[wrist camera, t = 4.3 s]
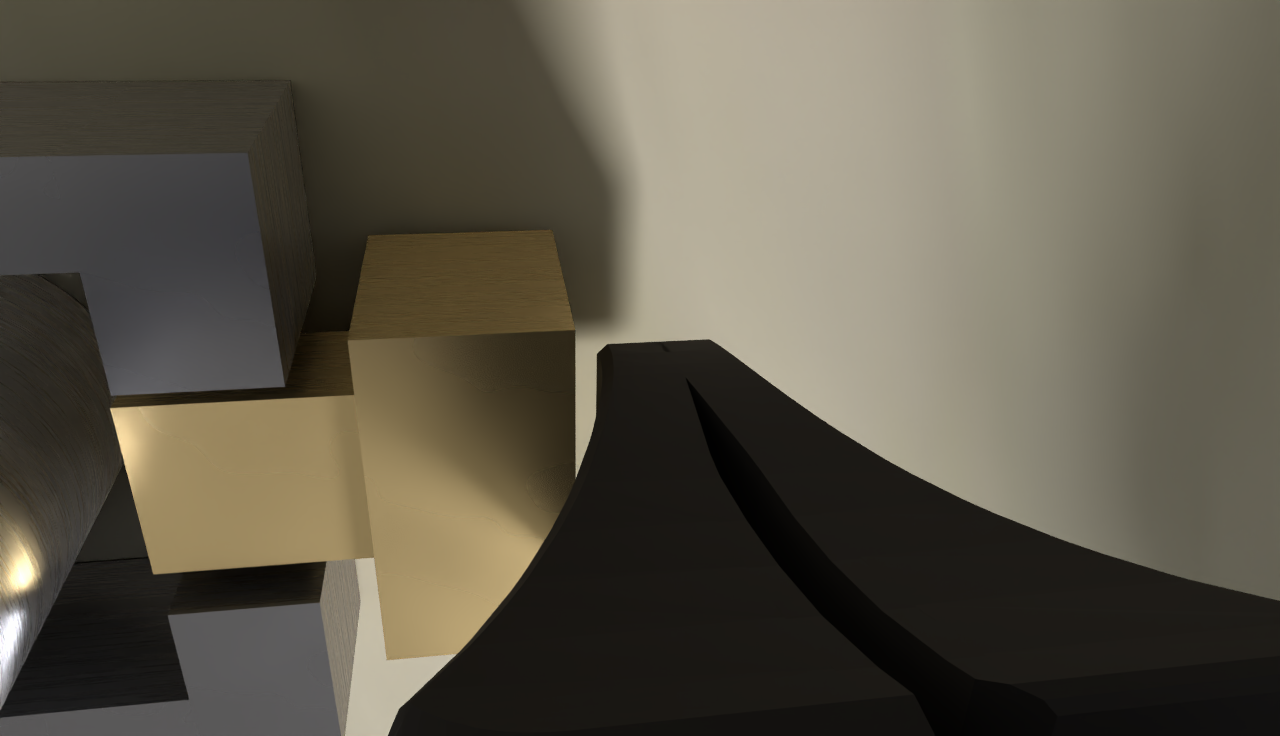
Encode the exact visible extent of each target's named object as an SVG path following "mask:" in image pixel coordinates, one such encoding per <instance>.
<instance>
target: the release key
mask: <svg viewBox="0 0 1280 736" xmlns="http://www.w3.org/2000/svg"><path fill="white" fill-rule="evenodd" d="M110 409H111V413H112V417H113V421H114V425H115V429H116V433H117V436H118V440H119V444H120V448H121V452H122V456H123V460H124V463H125V467H126V471H127V475H128V479H129V483H130V487H131V490H132V494H133V498H134V502H135V506H136V510H137V513H138V517H139V521H140V525H141V529H142V533H143V537H144V540H145V544H146V548H147V552H148V556H149V560H150V564H151V567H152V571H153V574H166V573H179V572H192V571H205V570H217V569H230V568H243V567H256V566H269V565H282V564H295V563H308V562H321V561H334V560H347V559H360V558H373V557H374V559H375V567H376V576H377V584H378V592H379V600H380V608H381V616H382V624H383V632H384V641H385V649H386V657H387V660H394V659H405V658H416V657H427V656H438V655H448V654H458V653H459V652H460V651H461V649H462V648H463V647H464V646H465V645H466V644H467V643H468V642H469V641H470V640H471V639H472V638H473V636H474V635H475V634H476V633H477V631H478V630H479V629H480V628H481V627H482V625H483V624H484V623H485V622H486V621H487V619H488V618H489V617H490V616H491V615H492V613H493V612H494V611H495V610H496V608H497V607H498V606H499V605H500V604H501V602H502V601H503V600H504V599H505V598H506V596H507V595H508V594H509V593H510V591H511V590H512V589H513V587H514V586H515V585H516V583H517V582H518V581H519V579H520V578H521V576H522V575H523V573H524V572H525V570H526V569H527V568H528V566H529V564H530V563H531V561H532V560H533V558H534V556H535V555H536V553H537V552H538V550H539V548H540V547H541V545H542V544H543V542H544V540H545V539H546V537H547V536H548V534H549V532H550V530H551V529H552V527H553V525H554V523H555V521H556V519H557V517H558V515H559V514H560V512H561V510H562V508H563V506H564V504H565V502H566V500H567V498H568V495H569V493H570V491H571V489H572V486H573V484H574V482H575V327H574V322H573V318H572V314H571V309H570V305H569V301H568V296H567V292H566V288H565V283H564V279H563V275H562V270H561V266H560V261H559V257H558V253H557V248H556V244H555V240H554V235H553V231H552V230H530V231H497V232H463V233H430V234H396V235H368V240H367V245H366V250H365V255H364V260H363V265H362V270H361V275H360V280H359V285H358V290H357V295H356V300H355V305H354V310H353V315H352V320H351V326H350V331H336V332H313V333H300V337H299V340H298V344H297V347H296V351H295V354H294V358H293V361H292V365H291V368H290V371H289V375H288V378H287V382H286V385H285V387H270V388H251V389H232V390H212V391H193V392H173V393H154V394H134V395H117V397H116V399H115V400H114V402H113V404H112V406H111V407H110Z"/></svg>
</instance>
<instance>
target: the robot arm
mask: <svg viewBox="0 0 1280 736" xmlns="http://www.w3.org/2000/svg"><path fill="white" fill-rule="evenodd" d="M388 736H1280V601H1277V600H1273V599H1269V598H1264V597H1260V596H1256V595H1252V594H1247V593H1243V592H1239V591H1235V590H1230V589H1226V588H1222V587H1218V586H1213V585H1209V584H1205V583H1201V582H1196V581H1192V580H1188V579H1185V578H1181V577H1177V576H1174V575H1170V574H1167V573H1164V572H1160V571H1157V570H1154V569H1151V568H1147V567H1144V566H1141V565H1137V564H1134V563H1131V562H1127V561H1124V560H1121V559H1118V558H1114V557H1111V556H1108V555H1104V554H1102V553H1099V552H1096V551H1093V550H1090V549H1087V548H1084V547H1081V546H1078V545H1075V544H1072V543H1069V542H1067V541H1064V540H1061V539H1058V538H1055V537H1053V536H1050V535H1048V534H1045V533H1043V532H1040V531H1038V530H1035V529H1033V528H1030V527H1027V526H1025V525H1022V524H1020V523H1017V522H1015V521H1012V520H1010V519H1007V518H1005V517H1002V516H1000V515H997V514H995V513H992V512H990V511H988V510H986V509H983V508H981V507H979V506H977V505H974V504H972V503H970V502H967V501H965V500H963V499H961V498H959V497H957V496H955V495H953V494H951V493H949V492H947V491H945V490H943V489H941V488H939V487H937V486H935V485H933V484H931V483H929V482H927V481H925V480H923V479H921V478H919V477H917V476H915V475H913V474H911V473H909V472H907V471H905V470H903V469H902V468H900V467H898V466H896V465H894V464H893V463H891V462H889V461H887V460H885V459H884V458H882V457H880V456H879V455H877V454H875V453H874V452H872V451H871V450H869V449H867V448H866V447H864V446H862V445H861V444H859V443H857V442H856V441H854V440H853V439H851V438H849V437H848V436H846V435H844V434H843V433H841V432H840V431H838V430H837V429H835V428H834V427H832V426H831V425H829V424H828V423H826V422H825V421H823V420H821V419H820V418H819V417H817V416H816V415H814V414H813V413H811V412H810V411H808V410H807V409H805V408H804V407H803V406H801V405H800V404H798V403H797V402H796V401H794V400H793V399H791V398H790V397H789V396H787V395H786V394H784V393H783V392H782V391H780V390H779V389H778V388H776V387H775V386H773V385H772V384H771V383H769V382H768V381H767V380H765V379H764V378H763V377H761V376H760V375H759V374H757V373H756V372H755V371H753V370H752V369H751V368H749V367H748V366H747V365H745V364H744V363H743V362H741V361H740V360H739V359H737V358H736V357H735V356H733V355H732V354H730V353H729V352H728V351H726V350H725V349H723V348H722V347H721V346H719V345H718V344H716V343H714V342H713V341H711V340H709V339H708V340H687V341H666V342H644V343H623V344H607V345H606V346H605V347H604V348H603V349H602V350H601V351H600V352H599V353H598V354H597V394H596V419H595V423H594V428H593V432H592V435H591V439H590V442H589V445H588V447H587V450H586V453H585V455H584V458H583V461H582V464H581V466H580V469H579V472H578V474H577V477H576V480H575V482H574V484H573V486H572V489H571V491H570V493H569V495H568V498H567V500H566V502H565V504H564V506H563V508H562V510H561V512H560V514H559V515H558V517H557V519H556V521H555V523H554V525H553V527H552V529H551V530H550V532H549V534H548V536H547V537H546V539H545V540H544V542H543V544H542V545H541V547H540V548H539V550H538V552H537V553H536V555H535V556H534V558H533V560H532V561H531V563H530V564H529V566H528V568H527V569H526V570H525V572H524V573H523V575H522V576H521V578H520V579H519V581H518V582H517V583H516V585H515V586H514V587H513V589H512V590H511V591H510V593H509V594H508V595H507V596H506V598H505V599H504V600H503V601H502V602H501V604H500V605H499V606H498V607H497V608H496V610H495V611H494V612H493V613H492V615H491V616H490V617H489V618H488V619H487V621H486V622H485V623H484V624H483V625H482V627H481V628H480V629H479V630H478V631H477V633H476V634H475V635H474V636H473V638H472V639H471V640H470V641H469V642H468V643H467V644H466V645H465V646H464V647H463V648H462V649H461V651H460V652H459V653H458V654H457V655H456V656H455V657H454V658H452V659H451V660H450V661H449V662H448V663H447V664H446V665H445V666H444V667H443V668H442V669H441V670H440V671H439V672H438V673H437V674H436V675H435V676H434V677H433V678H432V679H431V680H429V681H428V682H427V683H426V684H425V685H424V686H423V687H422V688H421V689H420V690H419V691H418V692H417V693H416V694H415V695H414V696H413V697H412V698H411V699H410V700H409V701H407V702H406V703H405V704H404V705H403V706H402V707H401V708H400V709H399V711H398V713H397V715H396V718H395V720H394V722H393V725H392V727H391V729H390V732H389V734H388Z"/></svg>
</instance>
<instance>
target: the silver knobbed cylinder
mask: <svg viewBox="0 0 1280 736" xmlns="http://www.w3.org/2000/svg"><path fill="white" fill-rule="evenodd" d="M116 397H117V395H115V396H111V393H110V389H109V386H108V382H107V378H106V374H105V370H104V366H103V362H102V358H101V354H100V351H99V347H98V343H97V339H96V335H95V331H94V327H93V323H92V319H91V316H90V312H89V311H88V310H87V309H86V308H85V307H84V306H82V305H81V304H80V303H79V302H78V301H77V300H75V299H74V298H73V297H71V296H70V295H69V294H67V293H66V292H65V291H63V290H62V289H60V288H59V287H57V286H56V285H54V284H52V283H51V282H49V281H47V280H46V279H44V278H42V277H40V276H39V275H37V274H21V275H0V710H1V708H2V706H3V704H4V702H5V700H6V698H7V696H8V694H9V692H10V690H11V688H12V686H13V684H14V682H15V680H16V678H17V676H18V674H19V672H20V670H21V668H22V666H23V664H24V662H25V660H26V658H27V656H28V654H29V652H30V650H31V648H32V646H33V644H34V642H35V640H36V638H37V636H38V634H39V632H40V630H41V628H42V626H43V624H44V622H45V620H46V618H47V616H48V614H49V612H50V610H51V608H52V606H53V604H54V602H55V600H56V598H57V596H58V594H59V592H60V590H61V588H62V586H63V584H64V582H65V580H66V578H67V576H68V574H69V572H70V570H71V568H72V566H73V564H74V562H75V560H76V558H77V556H78V554H79V552H80V550H81V548H82V546H83V544H84V542H85V540H86V538H87V536H88V534H89V532H90V530H91V528H92V526H93V524H94V522H95V520H96V518H97V516H98V514H99V512H100V510H101V508H102V506H103V504H104V502H105V500H106V498H107V496H108V494H109V492H110V490H111V488H112V486H113V484H114V482H115V480H116V478H117V476H118V474H119V472H120V470H121V468H122V466H123V464H124V460H123V456H122V452H121V448H120V444H119V440H118V436H117V433H116V429H115V425H114V421H113V417H112V413H111V409H110V407H111V406H112V404H113V402H114V400H115V399H116Z"/></svg>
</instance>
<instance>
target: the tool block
mask: <svg viewBox="0 0 1280 736" xmlns="http://www.w3.org/2000/svg"><path fill="white" fill-rule="evenodd" d="M50 273H80V277H81V281H82V284H83V288H84V292H85V296H86V300H87V304H88V308H89V312H90V316H91V319H92V323H93V327H94V331H95V335H96V339H97V343H98V347H99V351H100V354H101V358H102V362H103V366H104V370H105V374H106V378H107V382H108V386H109V389H110V393H111V396H115V395H134V394H154V393H173V392H193V391H212V390H232V389H251V388H270V387H285V385H286V382H287V378H288V375H289V371H290V368H291V365H292V361H293V358H294V354H295V351H296V347H297V344H298V340H299V337H300V333H301V330H302V326H303V323H304V320H305V316H306V313H307V309H308V306H309V302H310V299H311V295H312V292H313V288H314V285H315V281H316V278H317V275H316V268H315V260H314V253H313V245H312V238H311V231H310V223H309V216H308V208H307V201H306V194H305V186H304V179H303V171H302V164H301V157H300V149H299V142H298V134H297V127H296V120H295V112H294V105H293V97H292V90H291V82H290V80H275V81H136V82H0V275H21V274H50ZM359 610H360V594H359V586H358V579H357V571H356V564H355V559H347V560H334V561H321V562H308V563H295V564H282V565H269V566H256V567H243V568H230V569H217V570H205V571H192V572H179V573H166V574H153V571H152V567H151V564H150V560H149V558H146V559H132V560H119V561H106V562H92V563H79V564H73V566H72V568H71V570H70V572H69V574H68V576H67V578H66V580H65V582H64V584H63V586H62V588H61V590H60V592H59V594H58V596H57V598H56V600H55V602H54V604H53V606H52V608H51V610H50V612H49V614H48V616H47V618H46V620H45V622H44V624H43V626H42V628H41V630H40V632H39V634H38V636H37V638H36V640H35V642H34V644H33V646H32V648H31V650H30V652H29V654H28V656H27V658H26V660H25V662H24V664H23V666H22V668H21V670H20V672H19V674H18V676H17V678H16V680H15V682H14V684H13V686H12V688H11V690H10V692H9V694H8V696H7V698H6V700H5V702H4V704H3V706H2V708H1V710H0V736H345V730H346V721H347V713H348V704H349V696H350V687H351V678H352V670H353V661H354V653H355V644H356V636H357V627H358V619H359Z"/></svg>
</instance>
